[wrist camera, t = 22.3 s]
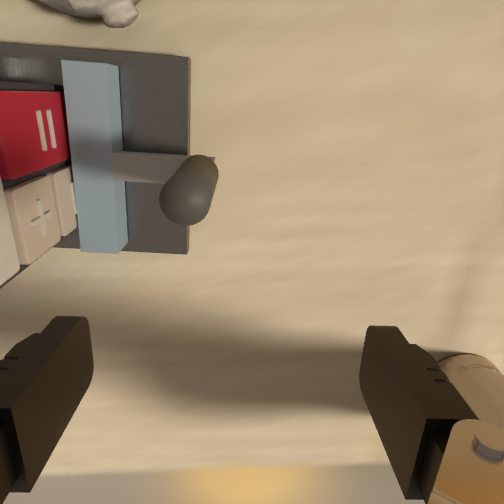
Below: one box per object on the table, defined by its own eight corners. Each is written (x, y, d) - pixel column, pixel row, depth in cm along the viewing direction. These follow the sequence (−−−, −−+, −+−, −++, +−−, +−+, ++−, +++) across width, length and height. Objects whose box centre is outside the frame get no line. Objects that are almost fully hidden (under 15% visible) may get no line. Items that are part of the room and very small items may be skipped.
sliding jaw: (224, 74, 29) (214, 62, 19) (217, 246, 34) (207, 312, 24) (77, 63, 29) (-18, 44, 18) (93, 239, 34) (26, 304, 23)
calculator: (93, 222, 33) (-12, 312, 20) (43, 221, 33) (-100, 311, 19) (74, 84, 29) (-75, 75, 15) (17, 83, 29) (-187, 72, 15)
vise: (190, 58, 30) (182, 52, 26) (189, 248, 36) (182, 268, 32) (-14, 42, 29) (-56, 34, 25) (19, 239, 35) (-10, 258, 31)
